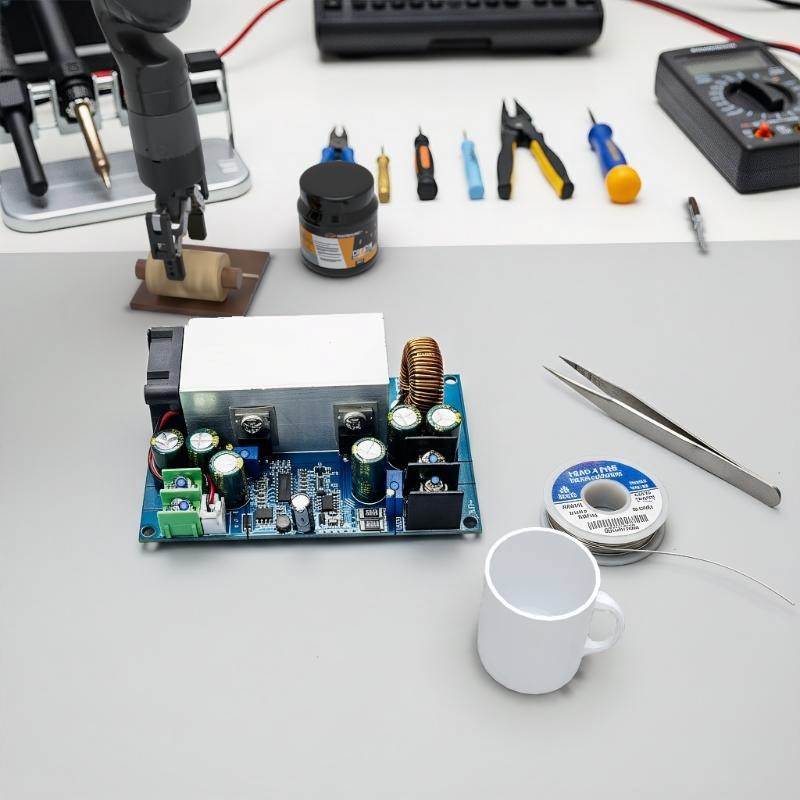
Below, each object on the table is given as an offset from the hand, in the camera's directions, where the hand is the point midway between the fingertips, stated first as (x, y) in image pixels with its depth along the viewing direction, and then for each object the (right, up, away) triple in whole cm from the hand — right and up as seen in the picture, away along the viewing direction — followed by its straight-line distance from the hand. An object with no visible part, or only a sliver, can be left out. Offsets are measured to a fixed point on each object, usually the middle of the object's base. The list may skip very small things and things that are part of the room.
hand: (187, 258), depth 122 cm
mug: (+39, -40, -32) cm, 65 cm away
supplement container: (+18, +2, +12) cm, 22 cm away
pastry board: (0, -2, +7) cm, 8 cm away
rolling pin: (0, -4, +4) cm, 5 cm away
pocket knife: (+68, +6, +18) cm, 70 cm away
